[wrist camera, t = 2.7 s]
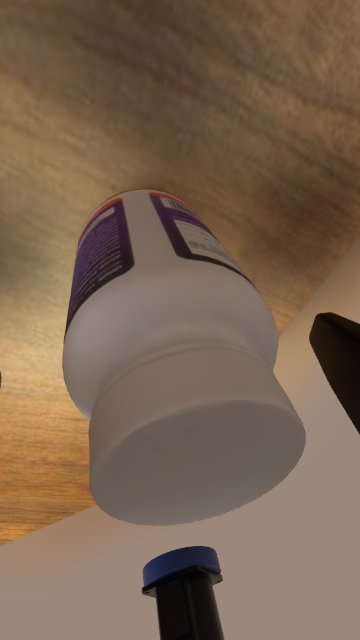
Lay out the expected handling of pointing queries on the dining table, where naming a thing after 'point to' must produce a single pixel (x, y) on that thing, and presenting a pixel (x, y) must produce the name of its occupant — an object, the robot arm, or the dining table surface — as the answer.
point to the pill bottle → (173, 367)
